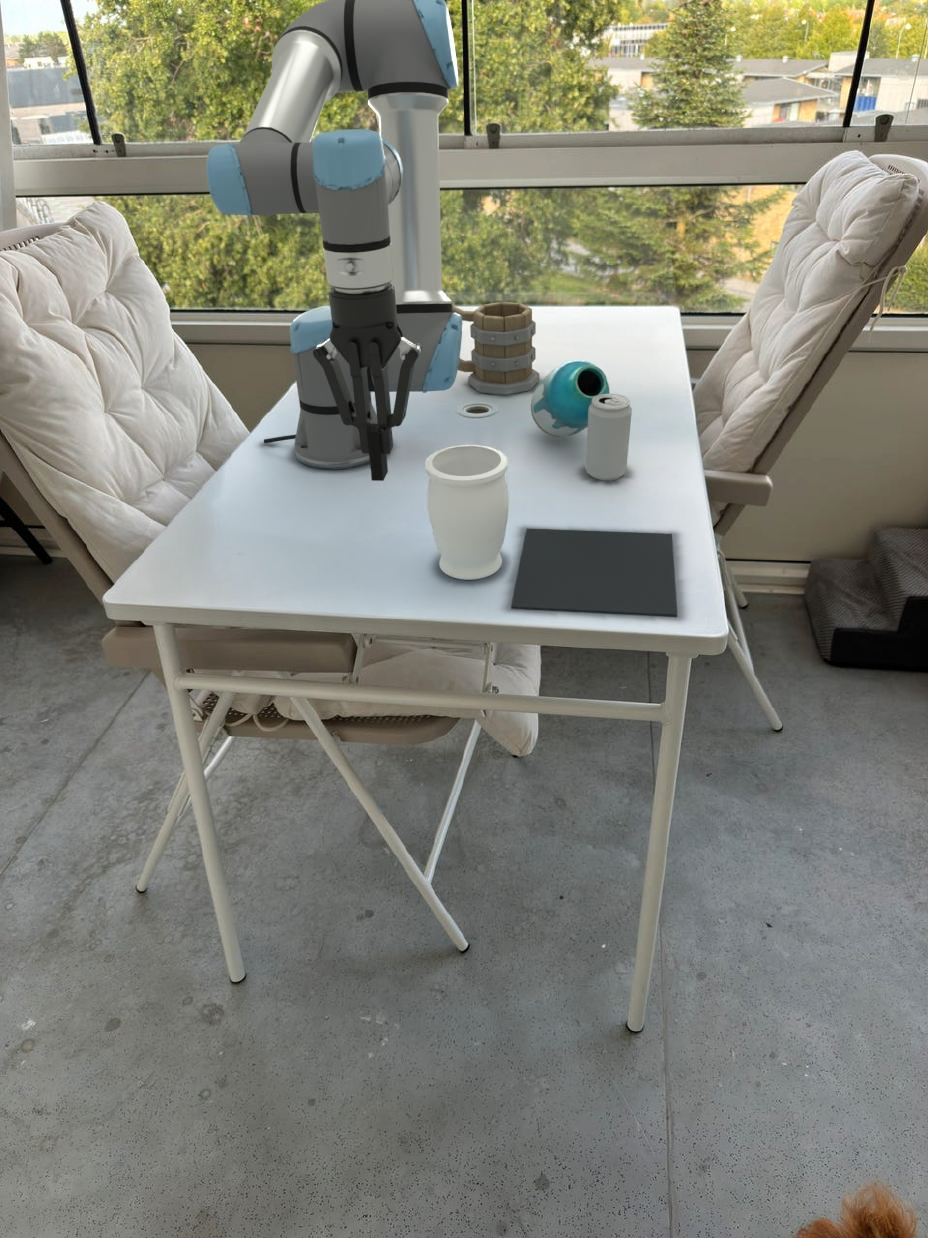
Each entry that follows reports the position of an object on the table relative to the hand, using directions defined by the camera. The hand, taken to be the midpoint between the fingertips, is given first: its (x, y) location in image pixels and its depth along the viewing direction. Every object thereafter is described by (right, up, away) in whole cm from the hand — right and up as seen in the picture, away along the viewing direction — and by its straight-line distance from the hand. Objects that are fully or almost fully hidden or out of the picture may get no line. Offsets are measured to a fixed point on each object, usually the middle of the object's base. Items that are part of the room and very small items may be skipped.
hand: (379, 475), depth 118 cm
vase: (+26, +17, +41) cm, 51 cm away
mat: (+28, -12, +3) cm, 30 cm away
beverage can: (+33, +4, +27) cm, 43 cm away
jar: (+12, -11, +6) cm, 17 cm away
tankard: (+15, +28, +63) cm, 70 cm away
